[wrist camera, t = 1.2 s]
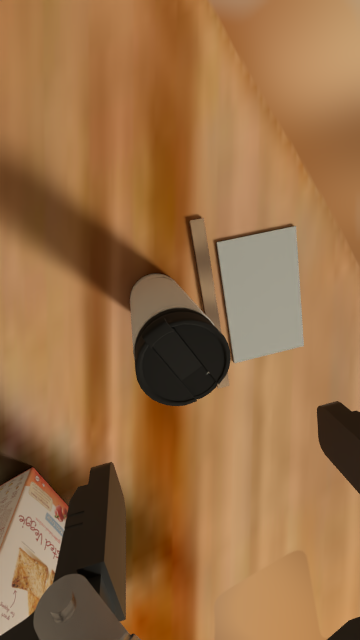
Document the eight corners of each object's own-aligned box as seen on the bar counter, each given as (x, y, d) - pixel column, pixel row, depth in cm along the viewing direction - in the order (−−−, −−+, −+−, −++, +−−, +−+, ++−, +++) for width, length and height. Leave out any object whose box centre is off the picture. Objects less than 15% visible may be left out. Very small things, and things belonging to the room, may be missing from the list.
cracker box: (93, 527, 46) (69, 752, 26) (57, 547, 46) (7, 788, 26) (35, 462, 42) (-46, 676, 22) (-5, 485, 42) (-123, 720, 22)
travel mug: (159, 260, 37) (195, 294, 18) (191, 303, 39) (253, 375, 20) (117, 291, 37) (109, 359, 18) (150, 333, 39) (175, 432, 20)
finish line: (189, 220, 36) (190, 220, 35) (202, 218, 36) (203, 218, 36) (216, 386, 43) (218, 388, 42) (228, 383, 43) (229, 385, 42)
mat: (216, 242, 37) (217, 242, 37) (294, 226, 38) (295, 226, 38) (233, 361, 42) (234, 363, 42) (302, 344, 43) (303, 345, 43)
